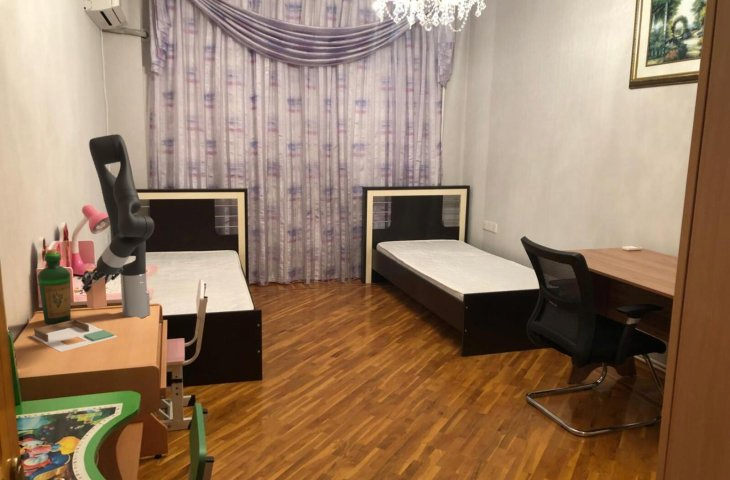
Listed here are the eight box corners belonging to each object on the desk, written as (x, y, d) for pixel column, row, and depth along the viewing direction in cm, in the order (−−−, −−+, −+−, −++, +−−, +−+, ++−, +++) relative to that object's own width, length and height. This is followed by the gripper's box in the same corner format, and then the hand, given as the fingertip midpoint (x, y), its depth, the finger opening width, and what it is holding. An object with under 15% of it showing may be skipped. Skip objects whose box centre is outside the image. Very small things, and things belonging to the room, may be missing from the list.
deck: (87, 325, 210) (86, 322, 210) (117, 339, 197) (117, 336, 197) (31, 339, 196) (31, 336, 195) (60, 355, 182) (60, 351, 182)
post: (100, 303, 198) (98, 267, 195) (106, 306, 195) (104, 269, 193) (87, 306, 194) (84, 269, 192) (93, 309, 191) (91, 271, 189)
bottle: (60, 329, 205) (54, 253, 201) (34, 327, 208) (28, 252, 203) (80, 320, 216) (75, 248, 211) (55, 318, 218) (50, 246, 213)
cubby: (76, 325, 207) (76, 319, 206) (89, 331, 201) (88, 324, 201) (34, 335, 196) (34, 328, 195) (46, 341, 190) (46, 335, 190)
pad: (103, 331, 201) (103, 329, 201) (113, 336, 197) (113, 334, 197) (83, 336, 196) (83, 334, 196) (93, 341, 192) (93, 339, 192)
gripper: (126, 245, 194) (105, 275, 201) (88, 252, 181) (67, 284, 189) (137, 263, 192) (116, 292, 200) (100, 271, 180) (78, 302, 187)
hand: (92, 288), depth 194 cm, fingers closed on post, 5 cm apart
